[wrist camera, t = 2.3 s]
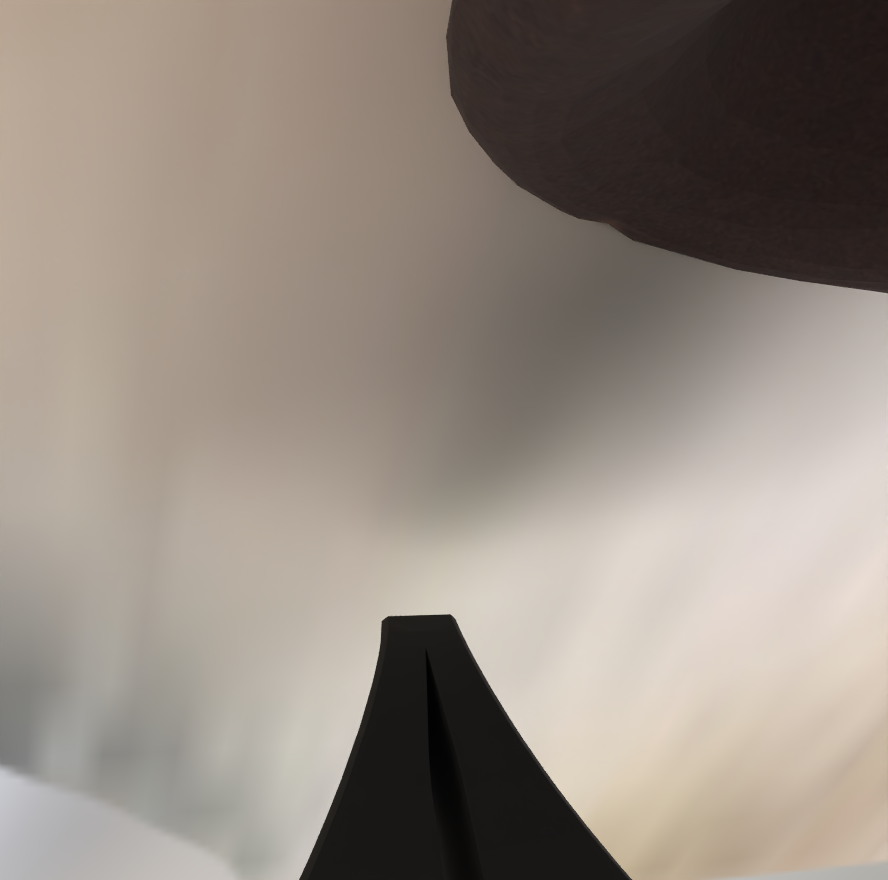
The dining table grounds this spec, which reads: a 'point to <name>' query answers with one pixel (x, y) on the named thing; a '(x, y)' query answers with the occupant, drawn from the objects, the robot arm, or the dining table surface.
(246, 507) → the dining table surface
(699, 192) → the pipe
